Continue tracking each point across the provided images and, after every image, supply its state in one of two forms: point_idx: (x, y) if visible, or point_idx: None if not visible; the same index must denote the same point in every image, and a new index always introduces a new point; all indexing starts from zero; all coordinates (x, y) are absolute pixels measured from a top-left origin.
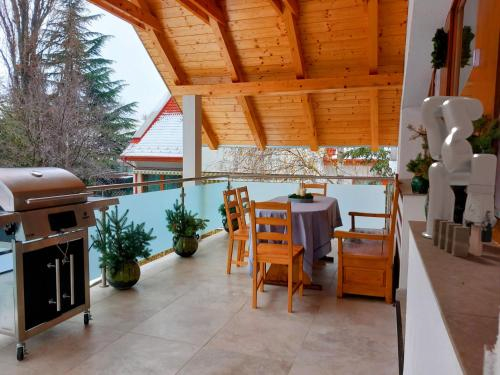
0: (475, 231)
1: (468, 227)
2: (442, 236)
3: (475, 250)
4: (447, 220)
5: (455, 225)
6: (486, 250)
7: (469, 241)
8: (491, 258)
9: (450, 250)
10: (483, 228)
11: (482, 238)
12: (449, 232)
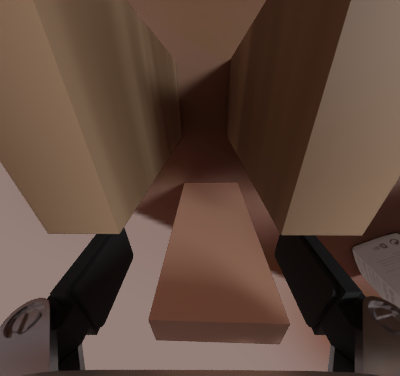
0: (206, 268)
1: (60, 221)
2: None
3: (193, 192)
4: None
5: (306, 106)
6: (266, 249)
7: (367, 251)
8: (161, 214)
9: (230, 83)
10: (39, 319)
11: (98, 236)
12: (270, 14)
